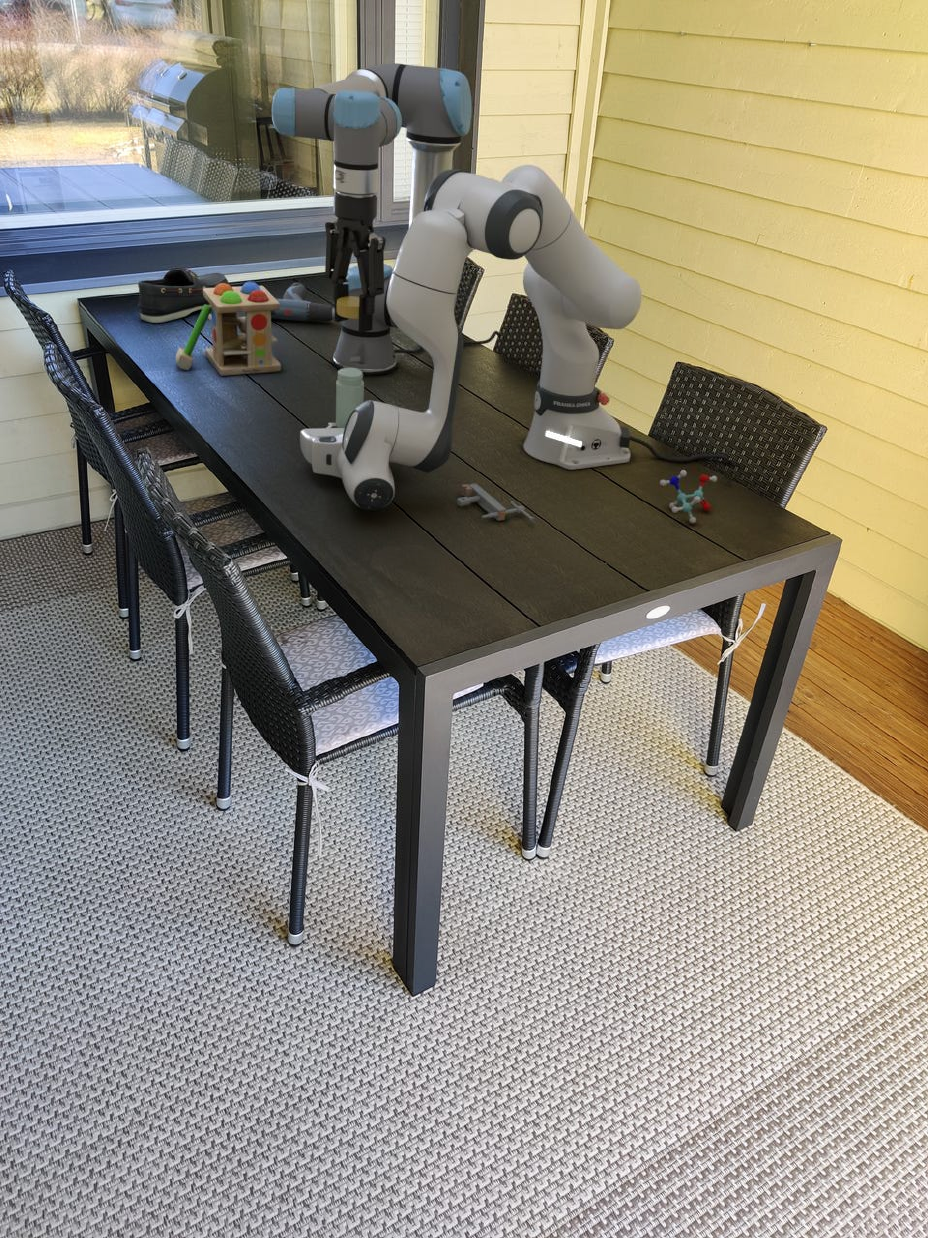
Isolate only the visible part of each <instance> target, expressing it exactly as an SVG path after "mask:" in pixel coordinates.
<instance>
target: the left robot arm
mask: <svg viewBox="0 0 928 1238" xmlns="http://www.w3.org/2000/svg"><path fill="white" fill-rule="evenodd" d="M472 107H473V105H472V95H471V89H470V84H469V81H468V78H467V77H466V76H465V74H463V73H462V72H461V71H457V70H454V69H453V70H452V69H448V68H445V67H434V66H422V65H413V64H404V63H399V62H398V63H397V62H389V63H382V64H377V65H372V66H368V67H367V66H366V67H363V68H359V69H355V70H353V71H352V72H350V73H349V74H347V76H346V77H345V79H341V80H338V81H334V82H330V83H326V84H323V85H320V86H319V85H318V86H316V87H312V88H306V89H300V88H299V89H298V88H295V87H291V88H289V87H280V88H278V89H277V90H276V91H275V93H274V95H273V98H272V103H271V120H272V123H273V127H274V130H276V132H278V133H279V134H280V135H284V136H291V137H292V138H305V139H312V140H321V141H329V142H332V143H333V189H334V190H335V191H336V192H334V194H333V215H334V216H335V217H336V220H334V221H327V222H325V223H324V228H325V234H326V244H325V264H324V265H325V266H324V277H325V278H326V279H327V280H328V279H329V280H330V281H331V284H332V285H333V287H332V290H333V291H332V295H333V296H332V298H333V302H334V309H335V318H334V322H336V323H340V322H341V324H340V325H341V326H340V329H341V330H340V336H339V338H338V341H337V344H336V348H335V350H334V352H333V361H332V362H333V363H332V364H333V366H334V367H335V368H337V369H338V370H340V369H344V368H355V369H358V370H360V371H362V373H363V376H380V375H381V376H382V375H386V374H389V373H391V372H393V371H395V369H396V368H397V361H398V360H397V354H417V353H419V352H420V351H422V349H423V348H422V347H421V346H420V345H419V344H418V347H417V348H416V349H403V348H402V349H398V348H397V349H395V347H394V343H393V341H392V337H391V336H392V335H391V328H394V329H399V328H398V327H397V326H396V324H395V323H394V322H393V320H392V318H391V317H390V314H389V312H388V308H387V303H386V300H387V292H388V287H389V282H390V278H391V275H392V272H393V268H394V267H392V266H391V265H388V264H387V263H386V264H385V259H384V258H385V257H384V255H385V253H384V251H385V248H386V243H387V239H386V237H385V236H378V235H377V234H376V233H375V228H374V220H375V219H376V218H377V215H378V196H377V195H376V193H378V191H379V155H380V153H379V152H380V151H379V148H381V147H385V146H387V145H390V144H391V143H392V142H393V141H394V140H395V139H396V138H397V137H398V136H399V134H400V132H401V129H402V128H405V129H406V131H405V133H406V134H405V140H406V141H407V142H408V143H409V144H410V146H411V148H412V155H411V156H412V157H411V159H412V160H411V176H410V197H409V215H408V217H409V218H408V228H409V227H410V225H411V223H412V221H413V219H414V218H415V217H416V216H417V215H418V214H420V213H421V212H423V205H424V201H425V197H426V194H427V191H428V189H429V187H430V185H431V184H432V182H433V181H434V179H435V178H436V177H437V176H438V175H439V174H440V173H442V172H443V171H446V170H452V168H453V155H454V151H456V149H457V148H458V147H459V146H460V145H461V141H462V140H461V139H462V137H465V136H467V135H468V133H469V132H470V129H471V121H472V114H473V113H472V111H473V110H472ZM352 256H353V257H354V258H356V264H357V265H354V266H351V267H350V263H351V260H352ZM348 296H355V297H359V319H352V318H345V317H342V316H340V315H338V314H337V300H338V299H339V298H341V297H348ZM457 300H458V293H457V294H456V298H455V303H454V310H455V308H456V304H457ZM496 336H497V337H500V336H501V334H500V332H499V331H498V330H494V331H493V332H492V333H491V335H490V337H489V338H487V339H485V340H484V339H483V340H474V341H473V340H471V341H470V340H469V341H467V340H463V346H464V345H465V346H466V345H468V346H470V345H474V346H476V345H485V344H489V343H491V342H492V341H493V340H494V339H495V337H496Z"/></svg>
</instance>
